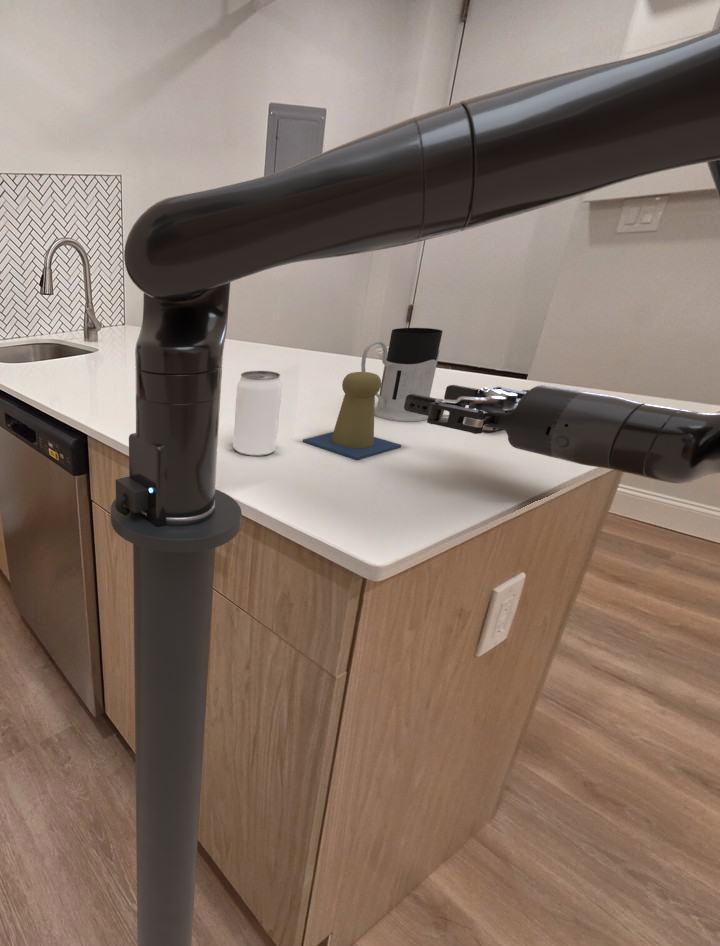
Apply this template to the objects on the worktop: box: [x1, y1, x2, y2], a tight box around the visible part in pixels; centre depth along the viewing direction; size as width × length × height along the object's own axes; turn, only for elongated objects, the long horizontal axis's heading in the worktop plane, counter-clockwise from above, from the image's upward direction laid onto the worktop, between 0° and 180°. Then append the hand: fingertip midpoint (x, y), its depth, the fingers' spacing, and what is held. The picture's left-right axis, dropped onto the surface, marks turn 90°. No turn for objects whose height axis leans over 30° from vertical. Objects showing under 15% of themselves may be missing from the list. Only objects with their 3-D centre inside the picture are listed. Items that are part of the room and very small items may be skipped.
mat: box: [302, 431, 402, 461], centre depth 83 cm, size 10×10×1 cm
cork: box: [331, 371, 382, 449], centre depth 80 cm, size 6×6×11 cm
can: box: [232, 370, 283, 457], centre depth 80 cm, size 6×6×12 cm
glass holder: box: [360, 327, 443, 422], centre depth 92 cm, size 9×14×15 cm, turn 102°
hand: (427, 396), depth 70 cm, fingers open, 8 cm apart
